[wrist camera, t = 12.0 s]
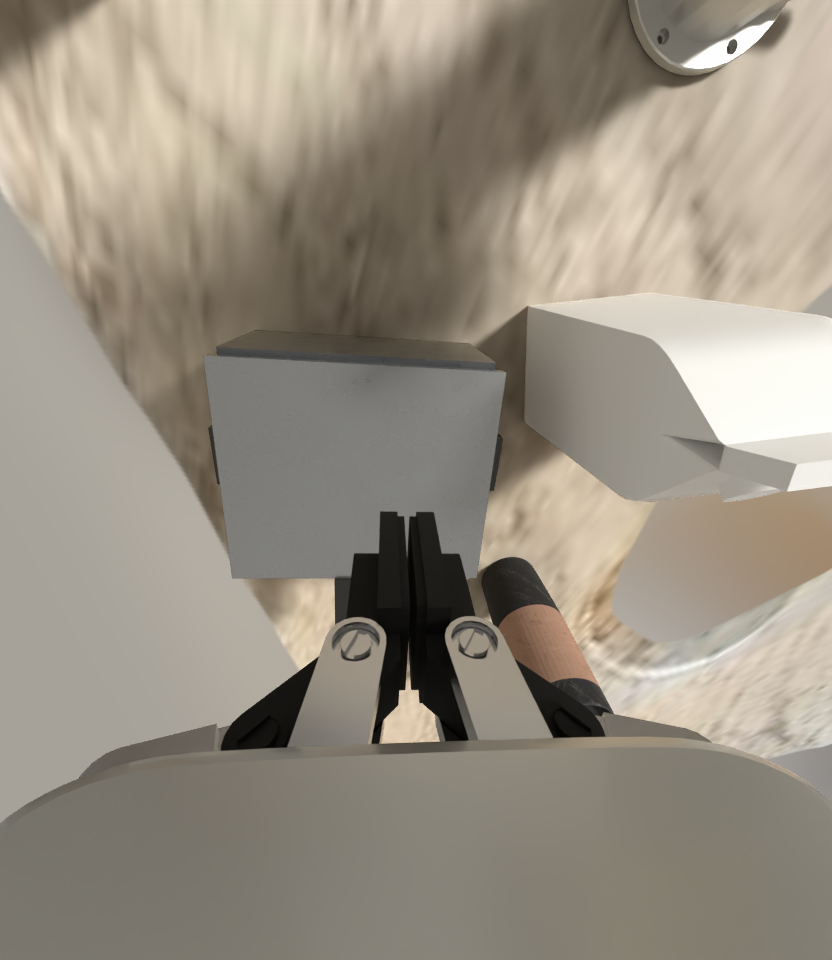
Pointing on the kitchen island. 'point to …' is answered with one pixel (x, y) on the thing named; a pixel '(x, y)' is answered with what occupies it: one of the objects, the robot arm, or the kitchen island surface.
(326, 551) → the lid
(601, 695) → the travel mug
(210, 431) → the grey lidded box
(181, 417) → the kitchen island surface
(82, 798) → the robot arm
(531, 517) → the kitchen island surface
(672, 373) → the milk
